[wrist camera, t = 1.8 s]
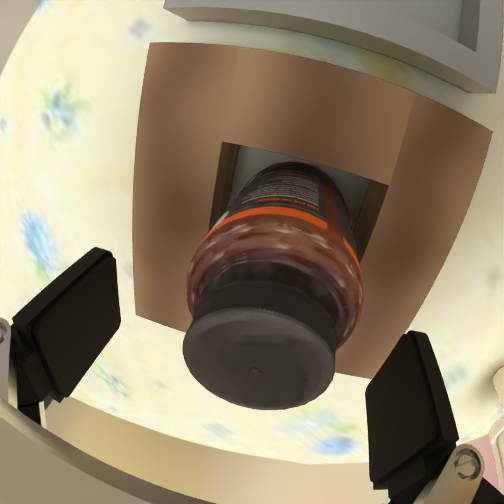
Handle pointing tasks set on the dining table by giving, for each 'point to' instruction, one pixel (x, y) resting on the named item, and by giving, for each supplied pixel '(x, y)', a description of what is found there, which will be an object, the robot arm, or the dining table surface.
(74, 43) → the dining table surface
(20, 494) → the robot arm
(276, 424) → the dining table surface
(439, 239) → the socket block
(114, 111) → the dining table surface
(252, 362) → the supplement bottle
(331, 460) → the dining table surface
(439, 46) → the tray
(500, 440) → the white cylindrical cage holder
